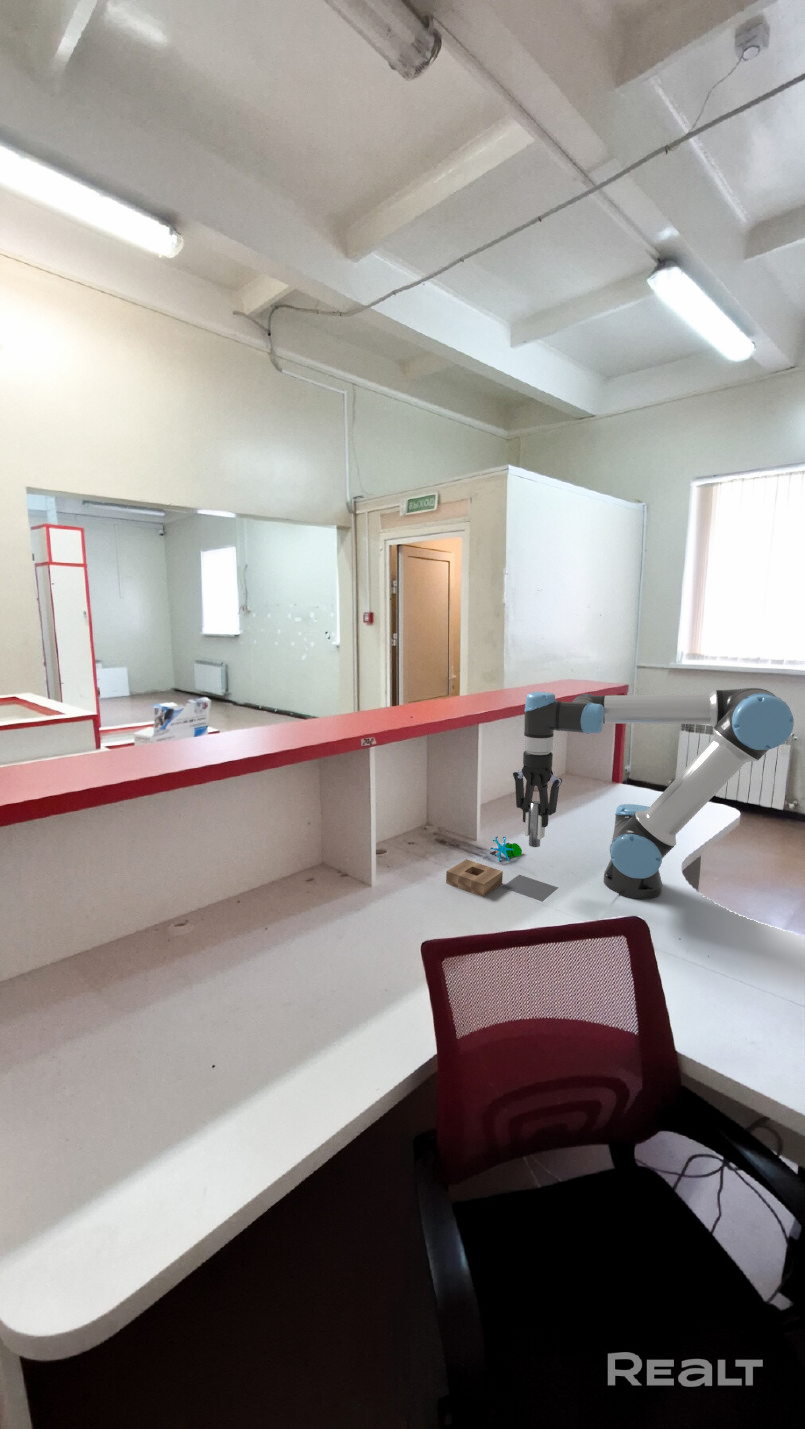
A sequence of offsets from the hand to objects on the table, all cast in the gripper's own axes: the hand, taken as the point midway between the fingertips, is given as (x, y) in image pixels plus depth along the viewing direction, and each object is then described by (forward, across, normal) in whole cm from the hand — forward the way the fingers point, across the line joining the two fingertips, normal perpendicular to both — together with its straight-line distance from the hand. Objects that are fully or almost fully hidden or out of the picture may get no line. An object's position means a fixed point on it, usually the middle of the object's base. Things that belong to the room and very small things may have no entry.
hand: (534, 835), depth 157 cm
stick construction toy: (+16, +17, -13) cm, 27 cm away
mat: (+15, +1, 0) cm, 15 cm away
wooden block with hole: (+15, +14, +8) cm, 22 cm away
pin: (+3, 0, 0) cm, 3 cm away
